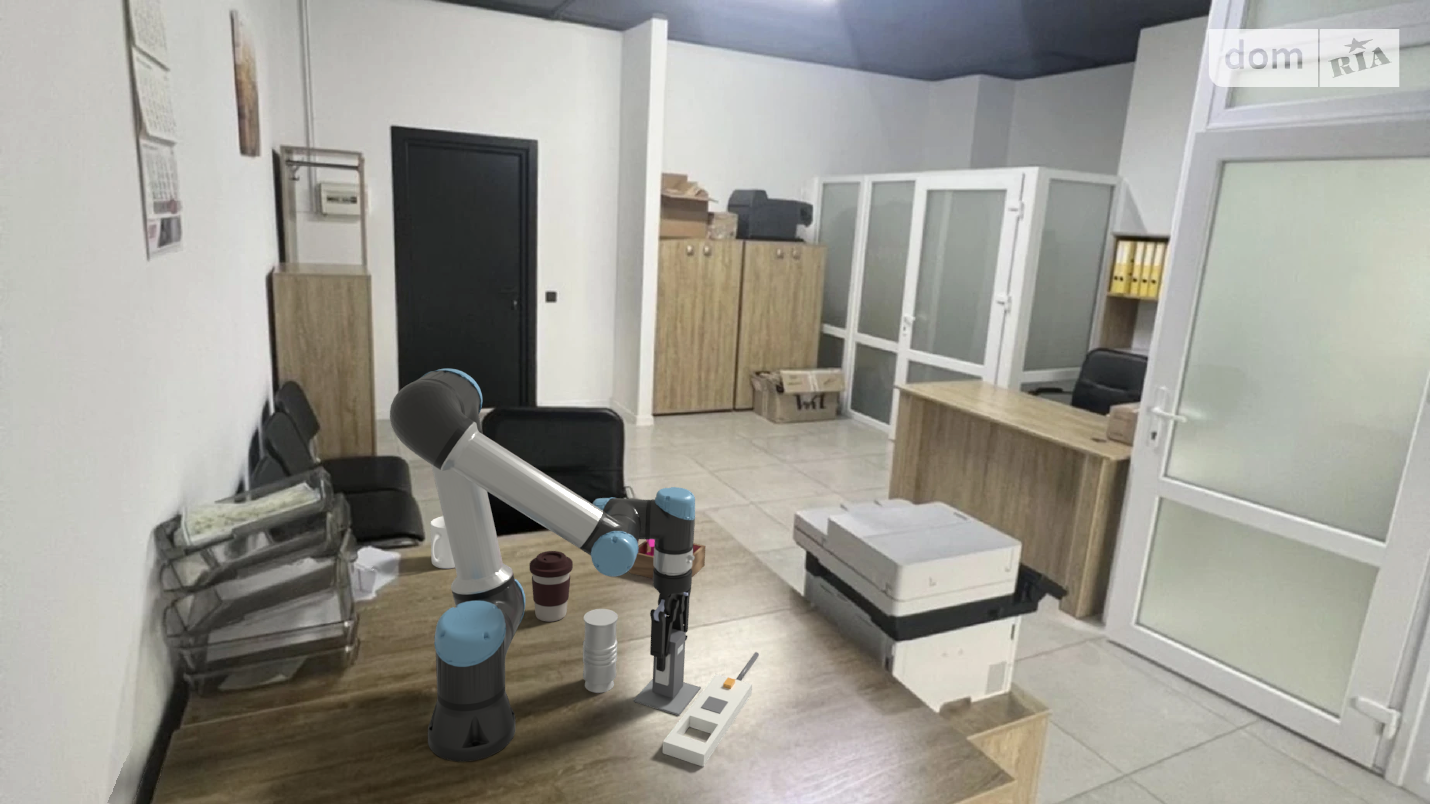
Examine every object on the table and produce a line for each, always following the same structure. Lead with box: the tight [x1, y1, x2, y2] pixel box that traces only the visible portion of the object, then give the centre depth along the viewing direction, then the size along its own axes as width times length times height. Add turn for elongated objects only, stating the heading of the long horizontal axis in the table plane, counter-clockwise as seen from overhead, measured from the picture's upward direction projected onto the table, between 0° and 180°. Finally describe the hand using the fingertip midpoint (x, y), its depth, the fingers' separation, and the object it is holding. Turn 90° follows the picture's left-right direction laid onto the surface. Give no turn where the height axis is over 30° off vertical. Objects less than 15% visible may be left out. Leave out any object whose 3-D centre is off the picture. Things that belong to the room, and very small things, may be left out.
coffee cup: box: [529, 550, 574, 623], centre depth 181 cm, size 10×10×15 cm
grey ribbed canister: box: [582, 608, 619, 694], centre depth 154 cm, size 7×7×15 cm
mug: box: [429, 515, 455, 570], centre depth 205 cm, size 10×12×12 cm
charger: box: [652, 629, 687, 698], centre depth 152 cm, size 5×5×12 cm
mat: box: [633, 678, 701, 717], centre depth 153 cm, size 10×10×1 cm
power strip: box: [662, 651, 760, 768], centre depth 152 cm, size 38×8×3 cm, turn 157°
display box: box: [628, 540, 706, 580], centre depth 209 cm, size 14×16×6 cm
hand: (668, 675), depth 152 cm, fingers closed on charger, 5 cm apart
